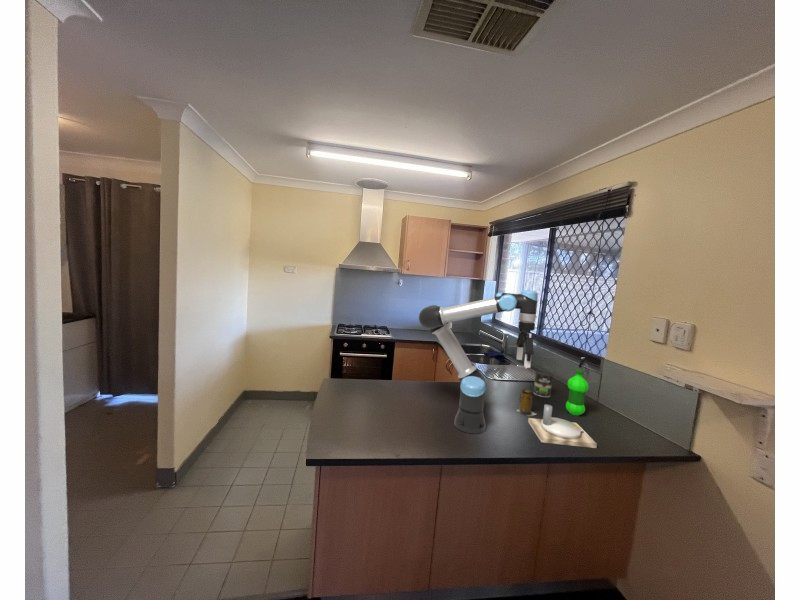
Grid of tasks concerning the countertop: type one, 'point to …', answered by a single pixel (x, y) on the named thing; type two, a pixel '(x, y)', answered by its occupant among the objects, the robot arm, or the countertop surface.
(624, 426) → the countertop surface
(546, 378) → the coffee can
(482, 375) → the robot arm
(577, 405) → the plastic bottle
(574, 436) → the dial
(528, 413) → the condiment
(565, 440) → the dial panel
